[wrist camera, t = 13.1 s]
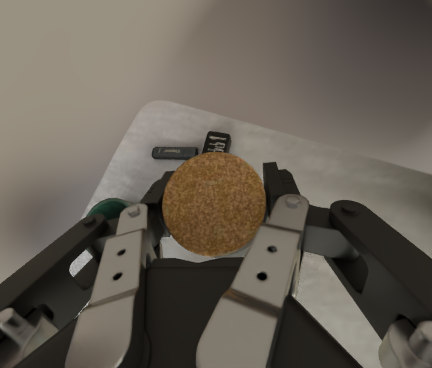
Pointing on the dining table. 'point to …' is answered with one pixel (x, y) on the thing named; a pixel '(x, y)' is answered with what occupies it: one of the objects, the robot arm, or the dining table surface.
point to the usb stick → (174, 153)
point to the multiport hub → (217, 142)
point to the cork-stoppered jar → (215, 205)
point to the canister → (110, 208)
